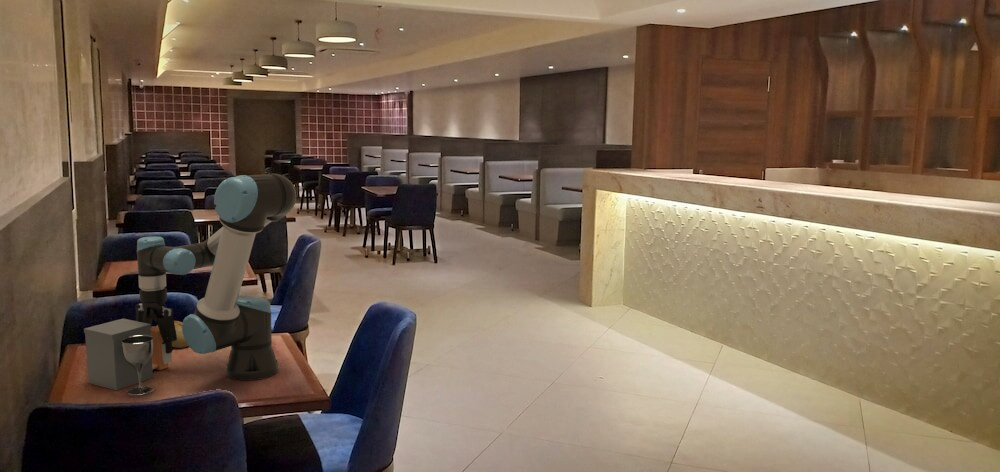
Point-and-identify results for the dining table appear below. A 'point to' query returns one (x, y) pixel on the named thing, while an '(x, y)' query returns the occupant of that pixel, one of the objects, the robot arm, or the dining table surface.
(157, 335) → the l-shaped block
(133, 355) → the wine glass
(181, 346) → the bread roll
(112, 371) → the gray box
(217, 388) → the dining table surface
